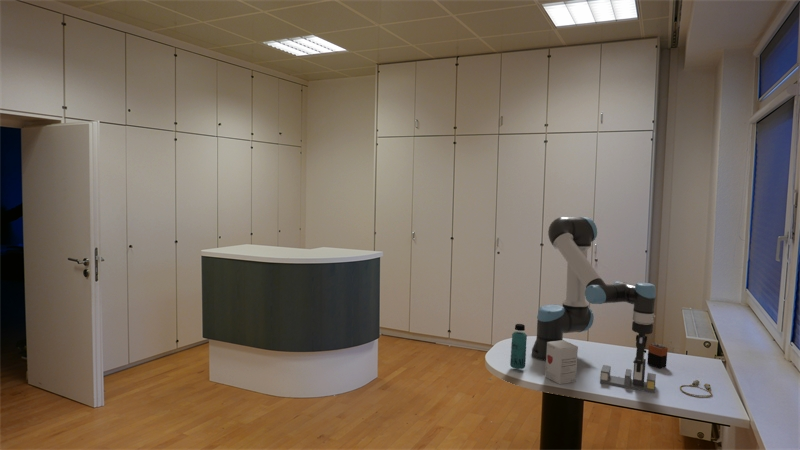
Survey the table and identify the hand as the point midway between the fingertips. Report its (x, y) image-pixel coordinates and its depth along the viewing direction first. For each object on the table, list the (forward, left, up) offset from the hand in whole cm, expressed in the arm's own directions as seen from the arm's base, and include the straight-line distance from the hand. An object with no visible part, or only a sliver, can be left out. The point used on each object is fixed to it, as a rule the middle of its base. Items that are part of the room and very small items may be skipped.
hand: (638, 373), depth 212 cm
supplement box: (-29, -9, -5) cm, 31 cm away
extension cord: (+22, +8, -6) cm, 24 cm away
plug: (0, 0, -4) cm, 4 cm away
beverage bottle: (-47, -8, -5) cm, 48 cm away
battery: (+6, +30, -5) cm, 31 cm away
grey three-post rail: (-4, 0, -5) cm, 6 cm away
